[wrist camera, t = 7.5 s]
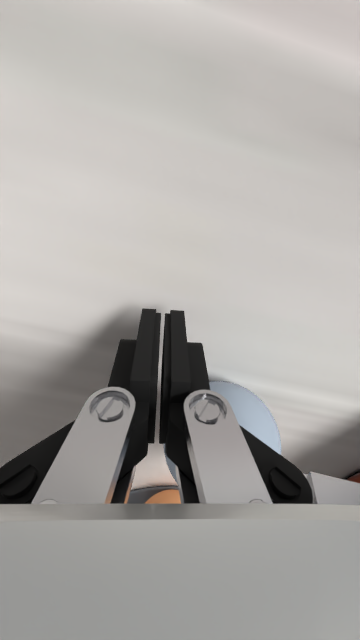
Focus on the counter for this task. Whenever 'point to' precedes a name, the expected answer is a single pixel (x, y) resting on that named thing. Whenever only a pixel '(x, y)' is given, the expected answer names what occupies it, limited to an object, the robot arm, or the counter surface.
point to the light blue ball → (245, 416)
